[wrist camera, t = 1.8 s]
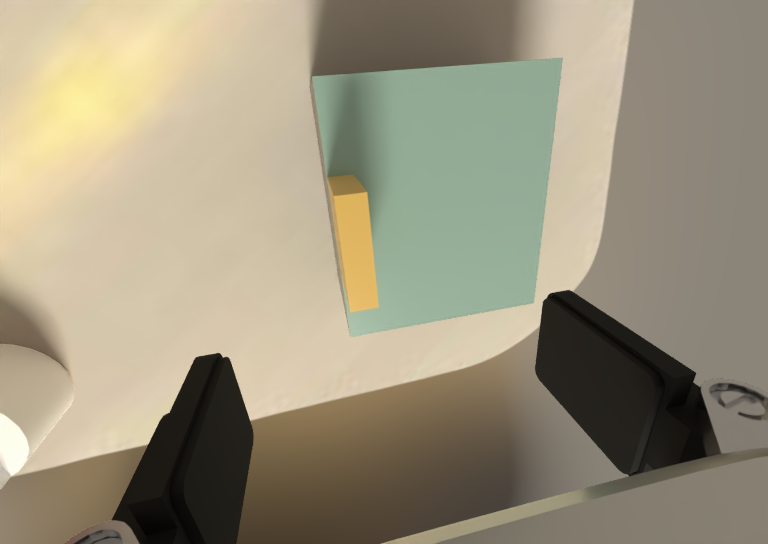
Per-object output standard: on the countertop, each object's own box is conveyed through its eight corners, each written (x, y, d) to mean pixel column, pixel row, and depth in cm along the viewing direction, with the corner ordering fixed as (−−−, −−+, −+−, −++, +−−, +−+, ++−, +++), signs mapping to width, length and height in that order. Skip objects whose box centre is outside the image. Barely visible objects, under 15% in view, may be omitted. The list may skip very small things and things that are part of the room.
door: (311, 79, 20) (315, 64, 13) (541, 62, 22) (637, 42, 15) (347, 321, 26) (360, 387, 20) (519, 290, 29) (579, 341, 22)
